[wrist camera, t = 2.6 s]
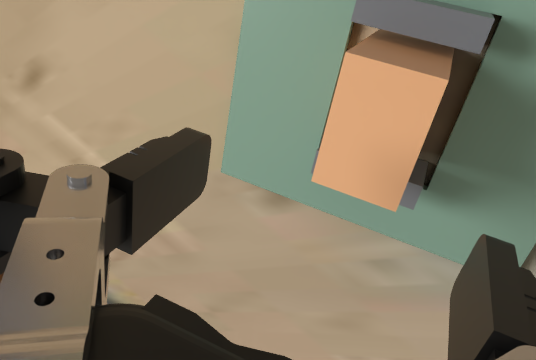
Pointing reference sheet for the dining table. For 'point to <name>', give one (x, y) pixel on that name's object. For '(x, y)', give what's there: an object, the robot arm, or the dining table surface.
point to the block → (381, 116)
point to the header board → (445, 174)
